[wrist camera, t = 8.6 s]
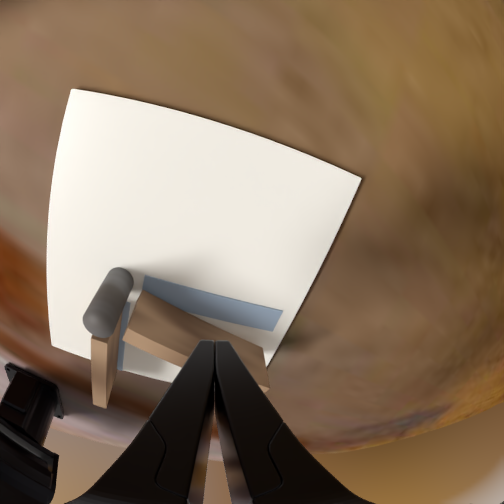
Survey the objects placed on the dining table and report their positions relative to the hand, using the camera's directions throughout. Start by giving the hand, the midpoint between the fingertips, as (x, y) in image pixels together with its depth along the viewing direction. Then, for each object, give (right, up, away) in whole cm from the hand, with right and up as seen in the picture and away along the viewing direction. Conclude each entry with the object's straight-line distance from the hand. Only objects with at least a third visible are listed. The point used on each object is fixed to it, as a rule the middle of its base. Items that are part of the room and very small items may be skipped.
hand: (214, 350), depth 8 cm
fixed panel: (-8, -2, +11) cm, 14 cm away
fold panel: (-2, -2, +10) cm, 11 cm away
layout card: (-4, +1, +10) cm, 10 cm away
